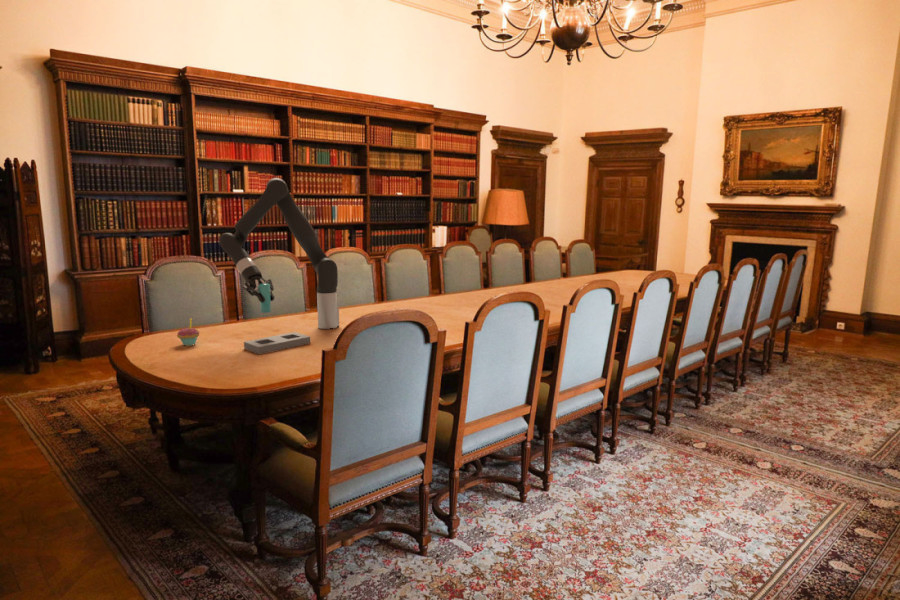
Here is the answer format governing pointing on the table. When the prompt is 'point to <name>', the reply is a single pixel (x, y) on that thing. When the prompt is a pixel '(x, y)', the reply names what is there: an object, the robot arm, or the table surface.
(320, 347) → the table surface
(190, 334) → the cupcake
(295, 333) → the rack
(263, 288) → the teal round-top peg
